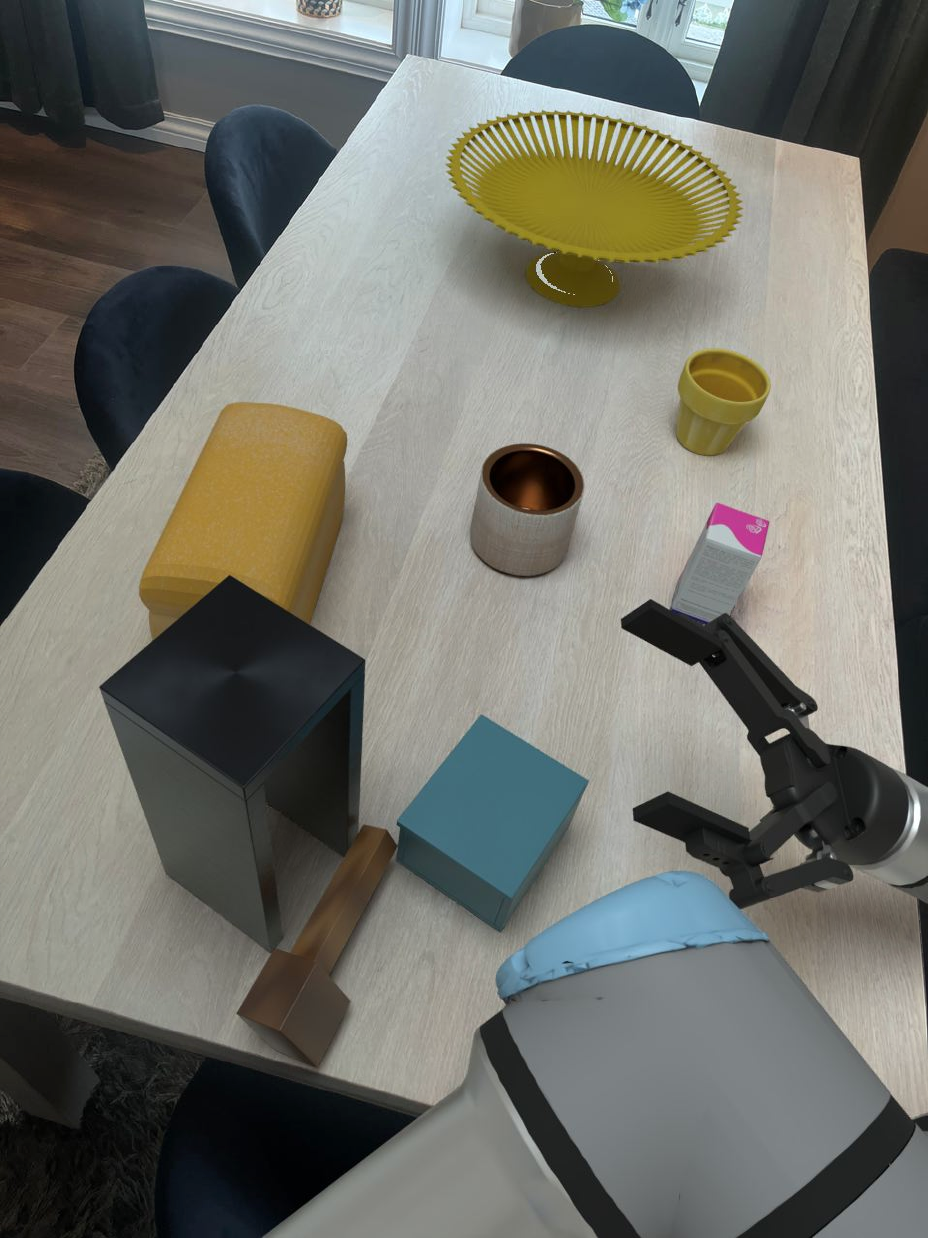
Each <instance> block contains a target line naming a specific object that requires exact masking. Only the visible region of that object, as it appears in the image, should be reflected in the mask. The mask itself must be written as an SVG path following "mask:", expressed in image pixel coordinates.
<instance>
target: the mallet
mask: <svg viewBox="0 0 928 1238" xmlns="http://www.w3.org/2000/svg"><path fill="white" fill-rule="evenodd" d="M397 848H398V843H396V841H395V840H394V838H393V836H392V835H391V834H390V832H389V831H388V829H386V828H381V827H377V826H373V825H369V824H365V823H364V824H362V826H361V827H360V829H359V830H358V834H357V836H356V838H355V840H354V841H353V843H352V845H351V847H350V848H349V850H348V852H347V854H346V855H345V857H343V859H342V861H341V862H340V864H339V866H338V868H337V869H336V871H335V873H334V874H333V876H332V878H331V880H330V881H329V884H328V886H327V887H326V889H325V890H324V892H323V894H322V896H321V897H320V899H319V900H318V903H317V904H316V906H315V908H314V909H313V911H312V913H311V915H310V917H309V918H308V920H307V922H306V924H305V925H304V927H303V929H302V930H301V932H300V934H299V936H298V937H297V939H296V941H295V943H294V945H293V946H292V948H291V950H290V951H289V952H287V951H284V950H282V949H279V948H277V947H276V948H274V950H273V951H272V953H270V955H269V957H268V958H267V960H266V962H265V963H264V965H263V967H262V969H261V971H260V972H259V974H258V976H257V977H256V979H255V980H254V983H253V984H252V986H251V987H250V989H249V991H248V993H247V994H246V996H245V998H244V999H243V1001H242V1003H241V1004H240V1006H239V1008H238V1009H237V1011H236V1015H237V1016H238V1017H239V1018H240V1019H241V1020H242V1021H243V1022H244V1023H245V1024H246V1025H248V1026H249V1027H250V1028H251V1029H252V1030H253V1031H254V1032H255V1033H256V1034H257V1035H258V1036H259V1037H260V1038H262V1039H263V1040H264V1042H265V1043H267V1044H268V1046H269V1047H271V1048H272V1049H273V1050H274V1051H276V1052H278V1053H280V1054H283V1055H286V1056H288V1057H291V1058H293V1059H295V1060H297V1061H300V1062H303V1063H305V1064H307V1065H309V1066H312V1067H314V1068H318V1066H319V1064H320V1062H321V1060H322V1059H323V1056H324V1054H325V1052H327V1051H326V1050H327V1048H328V1047H329V1045H330V1043H331V1041H332V1039H333V1037H334V1035H335V1034H336V1031H337V1029H338V1027H339V1025H340V1023H341V1022H342V1020H343V1017H344V1016H345V1014H346V1012H347V1010H348V1008H349V1006H350V1004H351V999H349V997H348V996H347V995H346V994H345V993H344V992H343V990H342V989H341V988H340V987H339V985H337V984H336V982H335V981H334V980H333V979H332V978H331V977H330V973H332V970H333V968H334V966H335V964H336V963H337V961H338V959H339V957H340V954H341V953H342V951H343V949H344V948H345V946H346V944H347V942H348V940H349V938H350V937H351V934H352V933H353V931H354V929H355V927H356V926H357V923H358V922H359V919H360V917H361V916H362V915H363V912H364V910H365V908H366V906H367V905H368V902H369V901H370V899H371V897H372V895H373V894H374V891H375V890H376V888H377V886H378V884H379V883H380V880H381V878H382V877H383V875H384V873H385V871H386V869H387V867H388V866H389V864H390V862H391V860H392V858H393V856H394V855H395V852H397Z"/></svg>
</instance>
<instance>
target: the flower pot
mask: <svg viewBox="0 0 928 1238" xmlns="http://www.w3.org/2000/svg"><path fill="white" fill-rule="evenodd" d="M680 373H681V374H680V376H679V380H678V384H677V392H678V395H679V405H678V413H677V419H676V426H675V427H676V428H675V435H676V439H677V440H678V442H679V444H681V445H682V446H683V447H684V448H685V449H686V450H689V452H692V453H694V454H697V455H701V456H716V455H719V454H722V453H723V452H725V451H726V450H727V448H728V447H729V446H730V445H731V444H732V442H733V440H734V439H735V438H736V437H737V435H738V434H739V433H740V431H742V430H743V428H744V427H745V425H746V424H747V423H749V422H751V421H753V420H754V419H755V418H757V416H758V415H759V414H760V412H761V410H762V409H763V407H764V405H765V404H766V401H767V399H768V397H769V395H770V392H771V386H772V385H771V380H770V377H769V375H768V373H767V372H766V370H765V369H764V368H763V367H762V366H761V365H760V364H759V363H757V362H756V361H755V360H754V359H752V358H750V357H748V356H747V355H744V354H742V353H740V352H736V351H734V350H730V349H726V348H715V347H714V348H712V347H709V348H704V349H699V350H698V351H695V352H694V353H692V354H690V355H689V357H688V358H687V359H686V361H685V363H684V365H683V368H682V371H681V372H680Z"/></svg>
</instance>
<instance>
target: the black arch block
mask: <svg viewBox="0 0 928 1238" xmlns="http://www.w3.org/2000/svg"><path fill="white" fill-rule="evenodd" d="M365 684H366V658H364V657H362V656H360V655H359V654H357V653H356V652H354V651H352V650H351V649H350V648H348V647H346V646H345V645H344V644H342V643H340V642H338V641H336V640H335V639H333V638H332V637H330V636H328V635H327V634H325V633H324V632H322V631H320V630H319V629H318V628H317V627H314V626H312V625H311V624H310V625H309V624H308V623H306V622H304V621H303V620H301V619H300V618H298V617H296V616H295V615H293V614H292V613H290V612H288V611H287V610H285V609H284V608H282V607H280V606H279V605H277V604H276V603H274V602H272V601H271V600H269V599H268V598H266V597H264V596H263V595H261V594H260V593H258V592H256V591H255V590H253V589H252V588H250V587H248V586H247V585H245V584H244V583H242V582H240V581H239V580H237V579H236V578H234V577H232V576H231V575H229V576H227V577H226V578H225V579H224V580H223V581H222V582H220V583H219V584H218V585H217V586H216V587H215V588H213V589H212V590H211V591H210V592H209V593H208V594H206V595H205V596H204V597H203V598H202V599H201V600H199V601H198V602H197V603H196V604H195V605H194V606H192V607H191V608H190V609H189V610H188V611H187V612H185V613H184V614H183V615H182V616H181V617H180V618H178V619H177V620H176V621H175V622H174V623H173V624H171V625H170V626H169V627H168V628H167V629H166V630H164V631H163V632H162V633H161V634H160V635H159V636H157V637H156V638H155V639H154V640H151V642H149V643H148V644H147V645H145V646H144V647H143V648H142V649H141V650H140V651H139V652H137V653H136V654H135V655H134V656H133V657H132V658H131V659H129V660H128V661H127V662H126V663H125V664H123V665H122V666H121V667H120V668H118V670H116V671H115V672H114V673H113V674H111V676H109V678H107V679H106V680H105V681H104V682H103V683H101V684H100V685H99V687H98V688H99V691H100V694H101V697H102V700H103V702H104V705H105V708H106V712H107V714H108V717H109V719H110V722H111V725H112V728H113V730H114V734H115V736H116V739H117V741H118V744H119V747H120V750H121V752H122V755H123V758H124V761H125V764H126V767H127V770H128V773H129V775H130V778H131V780H132V783H133V786H134V789H135V792H136V795H137V798H138V800H139V804H140V806H141V809H142V811H143V814H144V817H145V820H146V822H147V825H148V828H149V831H150V834H151V836H152V839H153V842H154V845H155V848H156V850H157V854H158V856H159V858H160V861H161V865H162V867H163V870H164V873H165V875H167V876H168V877H170V878H171V880H173V881H175V882H176V883H177V884H179V885H180V886H181V887H183V888H184V889H185V890H187V892H189V893H191V894H192V895H193V896H194V897H196V898H197V899H198V900H200V901H201V902H202V903H204V904H205V905H206V906H207V907H209V908H211V909H212V910H213V911H214V912H216V913H217V914H218V915H220V916H221V917H222V918H223V919H225V920H226V921H227V922H229V923H230V924H232V926H234V927H235V928H237V929H238V930H239V931H241V932H242V933H243V934H245V935H246V936H247V937H248V938H250V939H251V940H252V941H254V942H255V943H256V944H258V945H259V946H260V947H262V948H263V949H264V950H265V951H267V952H268V953H270V954H271V953H272V952H273V950H274V948H276V949H277V947H278V946H279V944H280V943H281V942H282V941H283V939H284V932H283V924H282V923H283V922H282V917H281V910H280V909H281V908H280V901H279V893H278V885H277V877H276V872H275V870H276V869H275V862H274V853H273V847H272V839H271V832H270V831H271V830H270V823H269V817H268V807H267V805H268V806H270V807H271V808H273V809H274V810H276V811H277V812H279V813H280V814H282V815H283V816H284V817H286V818H287V819H289V820H290V821H291V822H293V823H294V824H296V825H297V826H298V827H300V828H302V829H303V830H305V831H306V832H307V833H309V834H310V835H311V836H313V837H314V838H316V839H317V840H318V841H320V842H322V843H323V844H324V845H326V846H327V847H329V848H330V849H331V850H333V851H334V852H336V853H337V854H338V855H340V856H342V858H344V857H345V855H346V854H347V852H348V850H349V848H350V847H351V845H352V843H353V841H354V840H355V838H356V836H357V834H358V833H359V830H360V829H359V826H360V807H361V806H360V805H361V804H360V802H361V779H362V758H363V755H362V753H363V736H364V735H363V733H364V732H363V731H364V712H365V711H364V709H365V690H366V689H365V686H366V685H365Z"/></svg>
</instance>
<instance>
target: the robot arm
mask: <svg viewBox="0 0 928 1238" xmlns="http://www.w3.org/2000/svg"><path fill="white" fill-rule="evenodd" d="M620 628H621V629H622V630H624V631H625V632H627V633H630V634H632V635H633V636H635V637H637V638H639V639H640V640H642V641H644V642H646V643H648V644H650V645H651V646H653V647H655V648H657V649H659V650H660V651H662V652H664V653H666V654H667V655H670V656H671V657H673V658H675V659H677V660H679V661H681V662H682V663H684V664H687V665H688V666H690V667H694V666H695V665H697V664H698V663H699V665H700V666H701V667H702V669H703V670H704V672H705V673H706V675H708V677H709V678H710V679H711V681H712V683H713V684H714V685H715V686H716V688H717V689H718V691H719V692H720V693H721V695H722V696H723V697H724V699H725V700H726V701H727V703H728V705H729V706H730V707H731V708H732V710H733V711H734V713H735V714H736V715H737V716H738V718H739V719H740V721H741V722H742V723H743V725H744V726H745V727H746V729H747V731H748V732H747V735H746V739H747V741H748V742H749V744H750V745H751V747H752V748H753V749H754V751H755V752H756V753H757V755H758V756H759V760H760V766H761V769H762V772H763V775H764V791H765V796H766V797H767V798H769V800H770V802H771V804H772V809H771V810H769V811H768V812H767V813H766V814H765V815H763V816H762V817H761V818H760V819H759V823H758V824H756V825H755V826H754V827H753V828H752V829H749V827H748V826H745V825H743V824H741V823H738V822H736V821H734V820H732V819H730V818H728V817H725V816H724V815H722V814H718V813H717V812H715V811H713V810H710V809H708V808H706V807H703V806H701V805H699V804H697V803H694V802H693V801H691V800H688V799H686V798H684V797H682V796H679V795H677V794H675V793H673V792H671V791H665V792H663V793H661V794H659V795H657V796H655V797H653V798H651V799H648V800H647V801H644V802H643V803H640V804H639V805H636V806H634V807H632V820H633V822H636V823H638V824H640V825H642V826H645V827H646V828H650V829H652V830H655V831H657V832H659V833H661V834H664V835H666V836H668V837H670V838H673V839H676V840H678V841H680V842H682V843H684V845H685V852H686V853H688V855H690V857H692V858H694V859H696V860H698V861H701V862H703V863H705V864H709V865H711V866H713V867H715V868H718V869H719V871H720V873H721V874H722V875H724V876H725V877H727V878H729V880H730V883H731V885H732V888H731V889H730V890H729V892H728V895H727V894H726V893H725V892H724V891H723V890H722V889H721V888H720V886H719V885H717V883H715V882H714V881H713V880H711V879H710V878H708V877H707V876H705V875H703V874H700V873H697V872H694V871H689V870H671V871H666V872H665V871H664V872H662V873H658V874H655V875H651V876H647V877H644V878H642V879H639V880H637V881H634V882H631V883H630V884H627V885H624V886H621V887H620V888H618V889H616V890H614V891H612V892H609V893H607V894H605V895H603V896H601V897H599V898H597V899H595V900H593V901H592V902H590V903H588V904H585V905H583V906H582V907H581V908H579V909H577V910H575V911H574V912H572V913H570V914H569V915H566V916H564V917H563V918H561V919H559V920H558V921H556V922H555V923H553V924H552V925H550V926H549V927H547V928H546V929H544V930H542V931H541V932H540V933H538V934H537V935H535V936H534V937H532V938H531V939H530V940H529V941H527V942H526V944H525V946H524V947H522V948H521V949H519V950H517V951H516V952H514V953H513V954H511V955H510V956H508V957H507V958H506V959H505V961H504V962H503V963H502V964H501V965H500V966H499V968H498V969H497V971H496V974H495V981H494V982H495V986H496V988H497V993H496V994H497V996H498V997H499V999H500V1000H501V1001H503V1003H504V1004H505V1005H504V1007H503V1008H502V1009H501V1010H499V1011H497V1012H496V1013H495V1014H494V1015H492V1017H490V1018H489V1019H487V1020H486V1021H485V1022H484V1023H482V1024H481V1025H480V1026H478V1027H477V1028H476V1029H475V1030H474V1032H473V1037H472V1043H471V1049H470V1054H469V1055H470V1056H469V1061H468V1066H467V1073H466V1074H465V1077H464V1079H463V1081H462V1083H461V1084H460V1085H459V1086H457V1087H456V1088H455V1089H453V1090H452V1091H451V1092H450V1093H448V1094H447V1095H445V1097H443V1098H441V1100H439V1101H438V1102H437V1103H435V1104H434V1105H432V1106H431V1107H430V1108H428V1109H427V1110H425V1112H423V1113H422V1114H420V1115H419V1116H418V1117H416V1119H415V1120H413V1121H412V1122H410V1123H409V1124H408V1125H406V1126H405V1127H404V1128H402V1129H401V1130H399V1132H397V1133H396V1134H395V1135H393V1136H392V1137H391V1138H390V1139H388V1140H387V1141H386V1142H384V1143H383V1144H382V1145H380V1146H379V1147H377V1148H376V1149H375V1150H374V1151H373V1152H371V1153H370V1154H369V1155H368V1156H366V1157H365V1158H364V1159H362V1160H361V1161H359V1163H357V1164H356V1165H354V1166H353V1167H352V1168H350V1169H349V1170H348V1171H347V1172H345V1173H344V1174H343V1175H341V1176H340V1177H339V1178H338V1179H335V1181H333V1182H332V1183H331V1184H329V1185H328V1186H327V1187H325V1188H324V1189H323V1190H322V1191H320V1192H319V1193H318V1194H316V1195H315V1196H313V1198H311V1199H310V1200H309V1201H308V1202H306V1203H304V1204H303V1205H302V1206H301V1207H299V1208H298V1209H297V1210H296V1211H294V1212H293V1213H292V1214H291V1215H289V1216H288V1217H287V1218H285V1219H284V1220H283V1221H281V1222H280V1223H279V1224H278V1225H276V1226H275V1227H274V1228H272V1229H270V1231H269V1232H267V1233H265V1234H264V1235H263V1236H262V1237H261V1238H928V1112H924V1113H921V1114H919V1115H915V1116H914V1117H912V1118H911V1117H910V1115H909V1114H908V1113H907V1112H906V1111H905V1109H904V1108H903V1107H902V1105H901V1104H900V1103H899V1102H898V1101H897V1099H896V1098H895V1097H894V1096H893V1095H892V1093H891V1091H890V1090H889V1088H887V1086H886V1085H885V1083H883V1081H882V1079H880V1077H879V1076H878V1074H877V1073H876V1072H875V1071H874V1069H872V1067H871V1065H869V1064H868V1062H867V1060H865V1058H864V1057H863V1056H862V1055H861V1053H860V1052H859V1051H858V1050H857V1048H856V1047H855V1046H854V1044H853V1043H852V1042H851V1040H850V1039H849V1038H848V1036H847V1035H846V1034H845V1033H844V1032H843V1030H842V1029H841V1028H840V1027H839V1025H838V1024H837V1023H836V1022H835V1020H834V1019H833V1017H832V1016H830V1015H831V1014H829V1012H827V1010H826V1009H825V1007H824V1006H823V1005H822V1004H821V1003H820V1001H819V1000H818V999H817V998H816V996H815V995H814V994H813V992H812V991H811V990H810V989H809V987H808V986H807V985H806V984H805V982H804V981H803V980H802V979H801V977H800V976H799V975H798V974H797V972H796V971H795V970H794V969H793V967H792V966H791V964H790V963H789V962H788V961H787V960H786V958H785V957H784V956H783V954H782V953H781V952H780V951H779V949H778V948H777V947H776V946H775V945H774V943H773V942H772V941H771V940H770V938H769V937H768V935H767V933H766V932H764V931H763V930H762V931H761V930H760V929H759V928H758V927H757V926H756V925H755V924H754V922H753V921H752V920H751V919H749V917H748V916H747V915H746V914H745V913H744V912H743V911H742V910H743V909H746V908H749V907H752V906H755V905H757V904H761V903H764V902H766V901H769V900H773V899H775V898H777V897H781V896H784V895H786V894H789V893H791V892H795V891H798V890H800V889H801V890H802V889H803V890H806V891H809V892H814V893H822V892H825V891H827V890H830V889H834V888H836V887H839V886H843V885H845V884H848V883H851V882H853V881H854V877H855V876H854V873H853V870H852V869H854V870H856V871H858V872H860V873H862V874H865V875H866V876H868V877H871V878H873V879H875V880H878V881H880V882H882V883H885V884H887V885H889V886H890V887H892V888H894V889H897V890H899V891H901V892H903V893H905V894H908V895H909V896H911V897H913V898H916V899H917V900H920V901H921V902H922V903H925V904H926V905H928V786H926V785H925V784H922V783H921V782H919V781H917V780H916V779H914V778H912V777H911V776H909V775H907V774H906V773H903V772H901V771H900V770H897V769H895V768H893V767H890V766H889V765H888V764H886V763H884V762H882V761H880V760H878V759H877V758H875V757H874V756H871V755H870V754H868V753H866V752H864V751H862V750H860V749H858V748H856V747H852V746H847V745H841V744H840V745H839V744H831V743H826V742H825V741H824V740H823V739H821V738H820V736H819V735H818V734H817V733H816V732H815V731H813V730H812V729H811V728H810V727H811V726H810V719H809V715H811V714H813V713H816V712H818V709H819V708H818V703H817V702H816V700H815V699H814V698H813V697H812V696H811V695H810V694H808V693H807V692H805V691H804V690H803V689H801V688H800V687H798V686H797V685H795V683H794V682H793V681H792V680H791V679H790V678H789V677H788V676H787V675H786V673H784V672H783V670H782V669H781V668H780V667H779V666H778V665H777V664H776V662H774V661H773V660H772V658H770V656H769V655H768V654H767V653H766V652H765V651H764V650H763V649H762V648H761V647H760V646H759V645H758V644H757V642H755V641H754V639H753V638H752V637H751V636H750V635H749V634H748V633H747V632H746V631H745V630H744V629H743V628H742V627H741V626H740V624H739V623H738V622H737V621H736V620H735V619H734V618H733V617H732V616H731V615H730V614H727V613H723V614H722V615H720V616H719V617H717V618H715V619H714V620H712V621H711V622H709V623H707V624H706V625H705V624H703V623H700V622H697V621H695V620H694V619H692V618H690V617H689V616H687V615H685V614H680V613H679V614H676V613H675V612H673V611H671V610H670V608H667V607H666V606H664V605H662V604H660V603H659V602H657V601H655V600H653V599H652V598H649V599H648V600H646V601H645V602H644V603H642V604H641V605H639V606H638V607H636V608H635V609H633V610H631V611H630V612H629V613H628V614H626V615H624V616H623V617H622V618H620ZM782 729H784V730H787V731H788V733H786V734H785V735H783V736H781V737H779V738H777V739H776V740H773V741H771V742H769V740H767V738H766V737H768V736H770V735H772V734H774V733H776V732H778V731H780V730H782ZM793 836H794V837H795V838H796V839H797V840H798V841H799V843H801V844H802V845H803V846H804V847H806V848H807V849H809V850H810V851H811V853H809V854H807V855H805V858H804V859H805V861H802V862H800V863H799V865H797V866H793V867H791V868H788V869H785V870H782V871H778V872H775V873H772V874H769V875H766V876H765V875H764V872H763V870H762V867H761V865H763V864H765V863H767V862H770V861H773V860H774V857H772V856H773V855H774V854H775V853H776V852H777V851H778V850H779V849H780V848H782V846H784V844H786V843H787V842H788V841H789V840H790V839H791V838H792V837H793Z"/></svg>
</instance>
